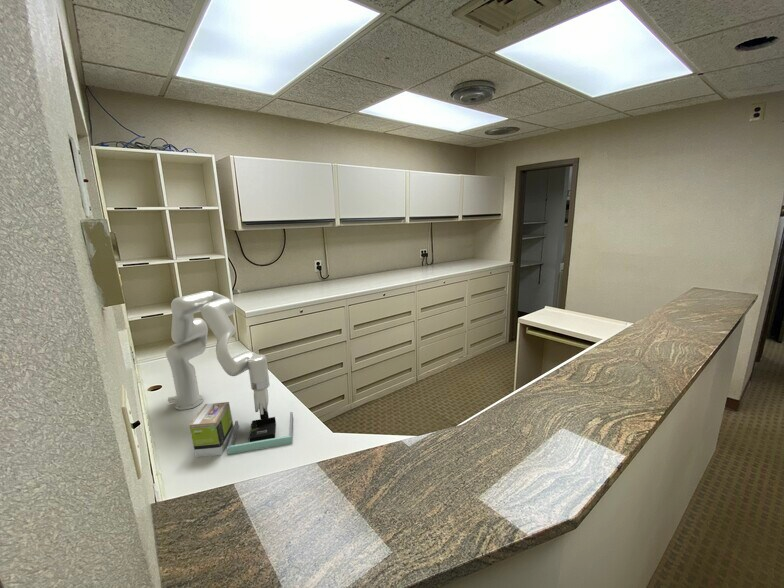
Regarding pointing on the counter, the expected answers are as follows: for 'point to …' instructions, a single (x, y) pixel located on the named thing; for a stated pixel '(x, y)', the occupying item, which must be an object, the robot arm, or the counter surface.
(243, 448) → the dock
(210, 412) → the tea box
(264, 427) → the battery charger
